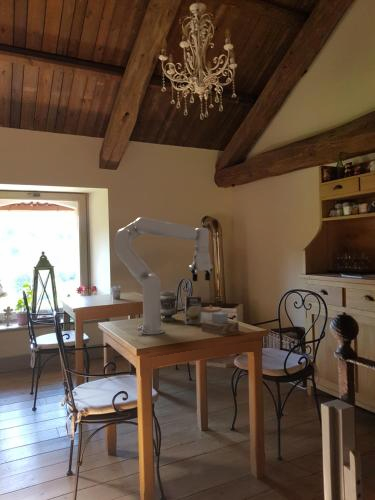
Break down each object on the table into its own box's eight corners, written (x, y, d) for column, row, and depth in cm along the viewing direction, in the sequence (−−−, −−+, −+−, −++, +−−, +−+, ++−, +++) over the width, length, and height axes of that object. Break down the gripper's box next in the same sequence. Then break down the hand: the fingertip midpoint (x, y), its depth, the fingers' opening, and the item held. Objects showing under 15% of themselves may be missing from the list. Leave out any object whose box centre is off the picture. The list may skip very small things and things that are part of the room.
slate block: (220, 324, 204) (220, 314, 204) (212, 322, 209) (211, 313, 208) (227, 322, 209) (227, 312, 209) (219, 320, 213) (218, 311, 213)
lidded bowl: (210, 327, 219) (209, 307, 219) (196, 324, 229) (195, 305, 229) (226, 323, 226) (225, 305, 226) (212, 320, 236) (211, 303, 236)
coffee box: (185, 324, 226) (185, 297, 226) (184, 322, 232) (184, 295, 232) (200, 324, 227) (201, 297, 227) (199, 322, 233) (199, 295, 233)
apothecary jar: (162, 318, 250) (162, 290, 250) (180, 318, 246) (179, 290, 246) (155, 321, 238) (154, 292, 238) (173, 322, 235) (173, 292, 235)
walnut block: (220, 335, 199) (219, 326, 199) (201, 331, 209) (201, 322, 209) (238, 331, 208) (238, 322, 208) (220, 327, 218) (220, 319, 218)
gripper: (194, 250, 206) (194, 282, 206) (217, 250, 217) (216, 280, 217) (185, 249, 211) (185, 281, 211) (207, 250, 223) (207, 279, 223)
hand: (201, 280), depth 214 cm, fingers open, 9 cm apart
